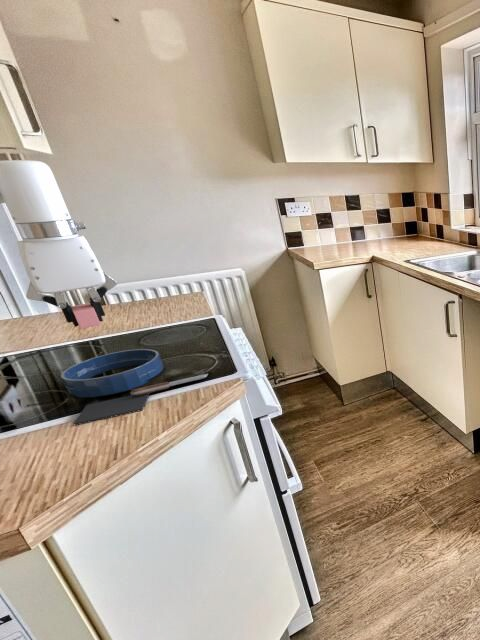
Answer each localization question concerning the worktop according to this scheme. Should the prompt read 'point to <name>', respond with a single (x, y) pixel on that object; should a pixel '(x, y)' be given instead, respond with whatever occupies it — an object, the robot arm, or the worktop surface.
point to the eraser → (85, 315)
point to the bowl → (116, 383)
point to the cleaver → (163, 385)
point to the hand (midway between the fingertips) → (88, 321)
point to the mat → (111, 408)
